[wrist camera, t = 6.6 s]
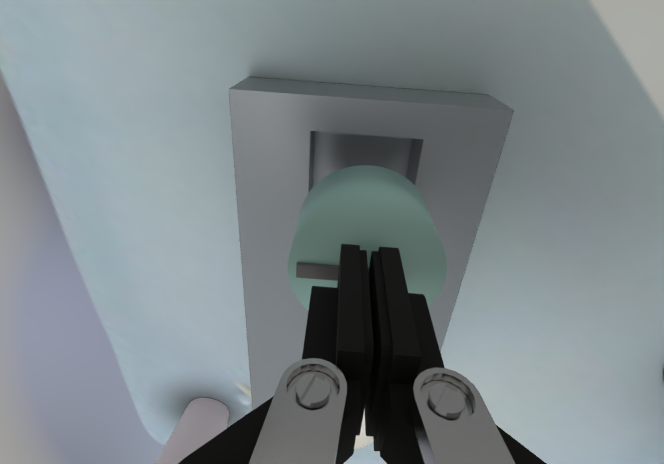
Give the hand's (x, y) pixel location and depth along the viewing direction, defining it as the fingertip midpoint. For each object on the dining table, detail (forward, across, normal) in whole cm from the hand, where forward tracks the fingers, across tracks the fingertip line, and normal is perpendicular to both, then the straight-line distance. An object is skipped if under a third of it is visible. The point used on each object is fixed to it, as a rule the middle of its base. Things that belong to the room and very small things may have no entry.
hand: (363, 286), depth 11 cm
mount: (+11, 0, +7) cm, 13 cm away
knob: (+6, 0, 0) cm, 6 cm away
